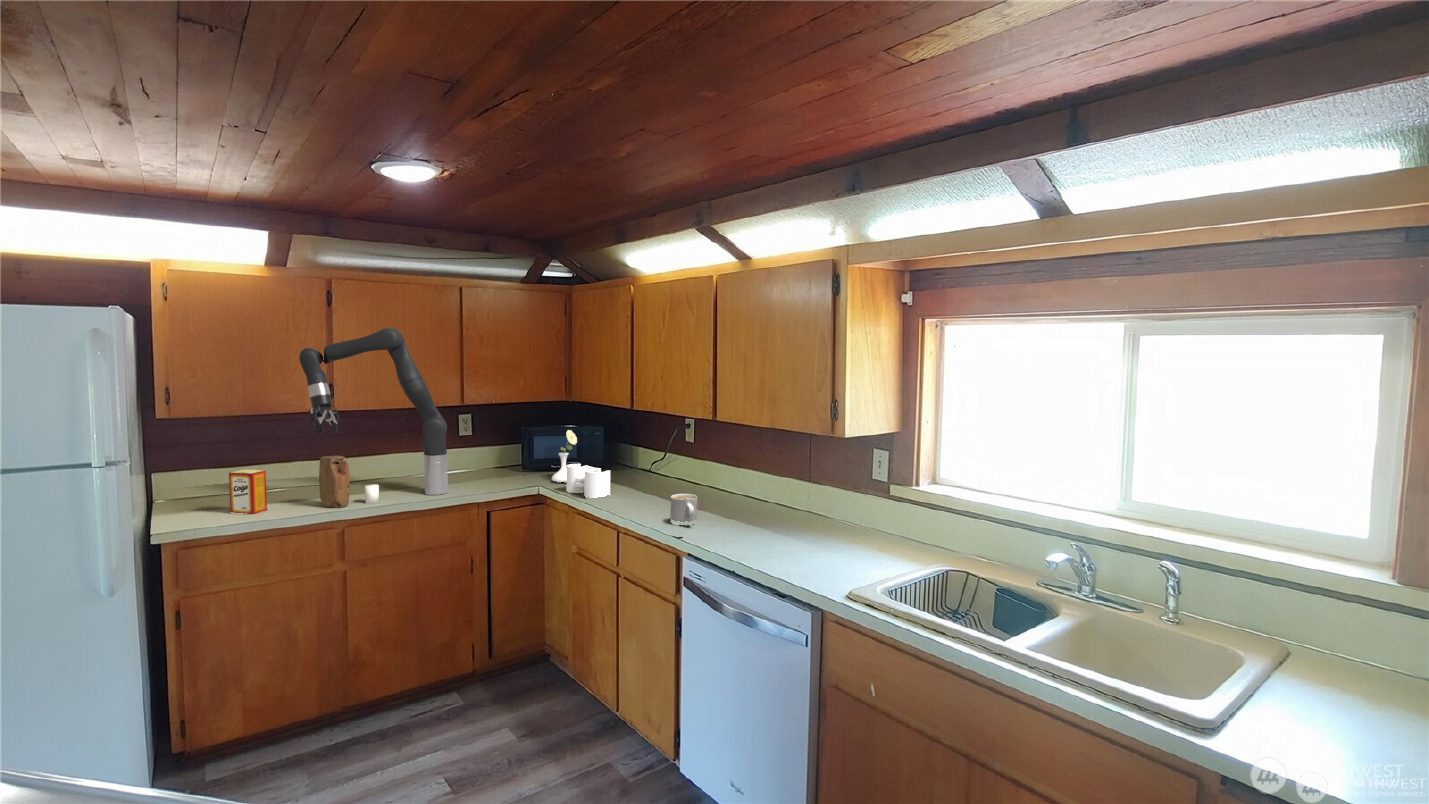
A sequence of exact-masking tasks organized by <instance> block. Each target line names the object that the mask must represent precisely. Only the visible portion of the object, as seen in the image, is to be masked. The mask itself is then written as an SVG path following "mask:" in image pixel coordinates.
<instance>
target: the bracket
mask: <svg viewBox="0 0 1429 804" xmlns="http://www.w3.org/2000/svg"><path fill="white" fill-rule="evenodd" d="M581 465H582V464H581V463H570V464H566V468H567V482H566V492H567V491H568V492H581V491H584V493H583V494H584V495H583V497H584V496H585V497H589V498H598V497H605V496H607V495H610V496H611V470H605V471H602V468H600V467H593V466H589V465H586V464H585V465H583V466H581Z"/></svg>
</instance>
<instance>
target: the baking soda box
mask: <svg viewBox="0 0 1429 804" xmlns="http://www.w3.org/2000/svg"><path fill="white" fill-rule="evenodd" d="M266 475H267V474H266V470H265V469H263V470H260V469H239V470H234V471H230V472H228V487H229V488H228V489H229V509H230V510H229V511H230V512H233V513H234V512H235V513H247V514H246V515H252V514H254V515H256V513H257V514H259V512H260V513H263V512H266V511H265V510H267V511H268V508H267V507H268V505H267V502H268V501H267V482H266V481H267V479H266V478H267V476H266ZM262 511H263V512H262Z"/></svg>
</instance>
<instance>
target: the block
mask: <svg viewBox="0 0 1429 804" xmlns="http://www.w3.org/2000/svg"><path fill="white" fill-rule="evenodd" d="M318 469H319V471H318V473H319V474H318V477H319V479H318V480H319V481H318V482H319V483H318V485H319V498H320V501H321V506H323V507H325V508H336V509H337V508H338V509H339V508H343V507H346V506H349V502H350V491H349V487H350V477H351V475H350V466H349V463H348V460H347V458H346V457H345V456H343V455H330V456H321V457H320V458H319V468H318Z"/></svg>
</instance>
